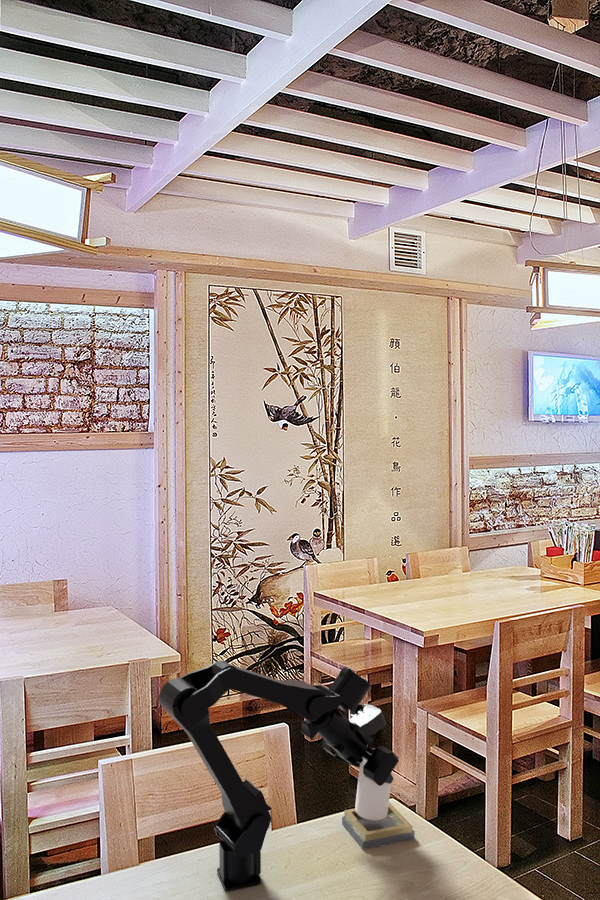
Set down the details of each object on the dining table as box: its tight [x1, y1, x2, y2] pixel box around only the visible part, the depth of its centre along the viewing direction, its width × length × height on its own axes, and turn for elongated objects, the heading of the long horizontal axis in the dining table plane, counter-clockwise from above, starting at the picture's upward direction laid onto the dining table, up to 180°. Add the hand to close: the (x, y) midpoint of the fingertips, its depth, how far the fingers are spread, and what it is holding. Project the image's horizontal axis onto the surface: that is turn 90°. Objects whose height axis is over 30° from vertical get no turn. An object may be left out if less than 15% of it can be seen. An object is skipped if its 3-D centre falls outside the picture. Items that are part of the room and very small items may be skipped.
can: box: [354, 747, 393, 821], centre depth 150 cm, size 6×6×12 cm
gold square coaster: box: [341, 802, 416, 850], centre depth 150 cm, size 11×10×3 cm
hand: (382, 775), depth 150 cm, fingers closed on can, 6 cm apart
